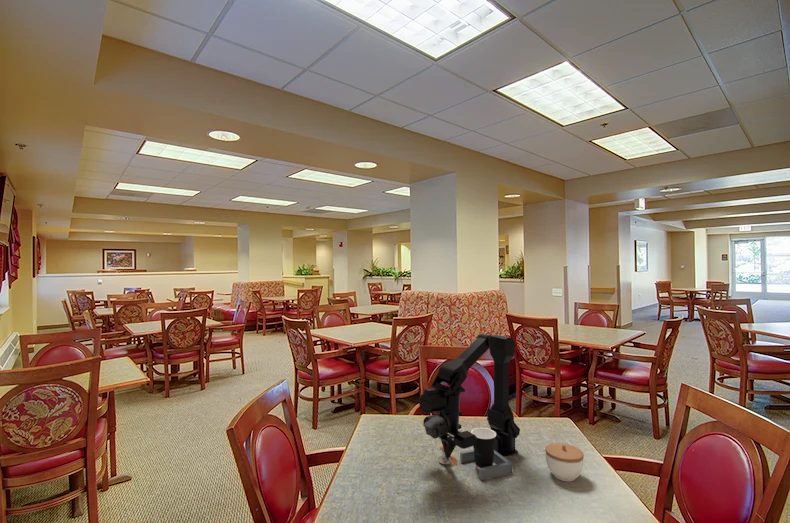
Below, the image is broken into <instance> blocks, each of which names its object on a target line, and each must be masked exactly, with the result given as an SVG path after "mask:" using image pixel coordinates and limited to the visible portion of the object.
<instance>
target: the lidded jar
mask: <svg viewBox="0 0 790 523" xmlns="http://www.w3.org/2000/svg"><path fill="white" fill-rule="evenodd" d="M544 448H545V449H544V452H545V461H546V465H547V467H548V469H549V471H550V473H551V474H552V475H553V476H554V478H556V479H557V480H559V481H562V482H567V483H568V482H574V481H575V480H576V479H577V478H579V476H580V475H581V473H582V471H583V468H584V452H583V451H582V450H581V449H580V448H578V447H576V446H574V445H572V444H568V443H563V442H551V443H549V444H547V445H546V446H545V447H544Z"/></svg>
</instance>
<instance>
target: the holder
mask: <svg viewBox="0 0 790 523" xmlns="http://www.w3.org/2000/svg"><path fill="white" fill-rule="evenodd" d="M459 453H460V454H459V455H460V458H459V460H460V461H459V462H460V463H461V464H462V463H468V462H469V463H470V462H475V457H474V448H473V449H469V450H468V449H467V450H463V451H460V452H459ZM493 463H494V464H493V466H488V467H483V468H479V470H478V479H479V480H480V481H485V480H489V479H493V478H498V477H502V476H507V475H513V463H512V462H511V461H510V460H508V459H507V458H506V457H505V456H502V455H500V454H499V453H498V452H496V451H495V450H494V457H493Z"/></svg>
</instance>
